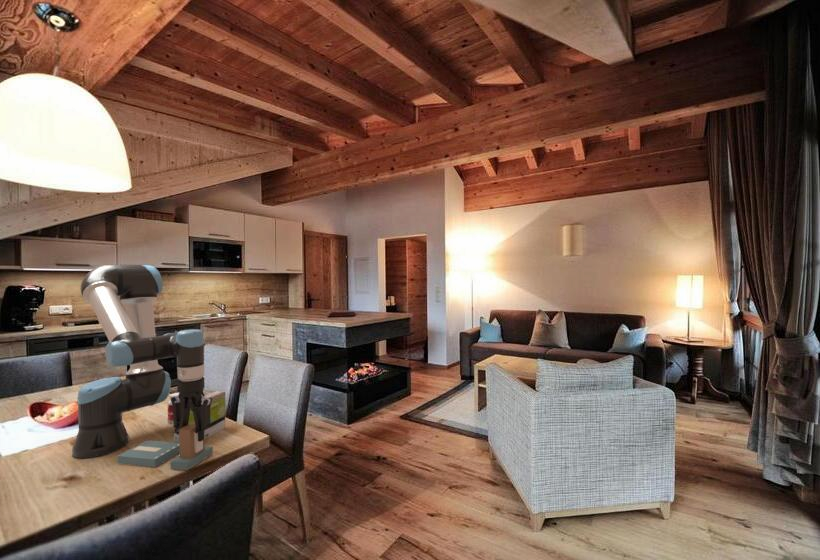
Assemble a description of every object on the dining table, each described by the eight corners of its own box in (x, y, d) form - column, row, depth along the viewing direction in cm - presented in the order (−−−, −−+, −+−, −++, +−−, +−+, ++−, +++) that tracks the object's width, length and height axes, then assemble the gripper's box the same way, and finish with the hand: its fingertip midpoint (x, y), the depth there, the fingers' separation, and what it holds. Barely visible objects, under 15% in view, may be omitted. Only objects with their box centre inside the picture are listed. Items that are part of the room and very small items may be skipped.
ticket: (117, 463, 118) (117, 455, 118) (147, 447, 129) (147, 440, 128) (154, 467, 115) (154, 459, 115) (182, 450, 126) (182, 443, 126)
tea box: (197, 445, 130) (196, 404, 130) (173, 443, 132) (172, 402, 132) (226, 427, 145) (225, 390, 144) (204, 426, 147) (203, 389, 146)
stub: (170, 468, 114) (169, 432, 114) (197, 451, 125) (196, 418, 125) (187, 470, 113) (186, 433, 113) (212, 453, 124) (212, 419, 124)
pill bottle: (164, 422, 151) (164, 395, 150) (180, 416, 156) (179, 391, 156) (173, 425, 148) (172, 397, 147) (188, 419, 153) (188, 393, 153)
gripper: (158, 380, 116) (159, 453, 117) (205, 383, 113) (207, 458, 114) (177, 373, 124) (178, 442, 124) (222, 376, 120) (223, 446, 121)
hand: (192, 449), depth 119 cm, fingers closed on stub, 4 cm apart
